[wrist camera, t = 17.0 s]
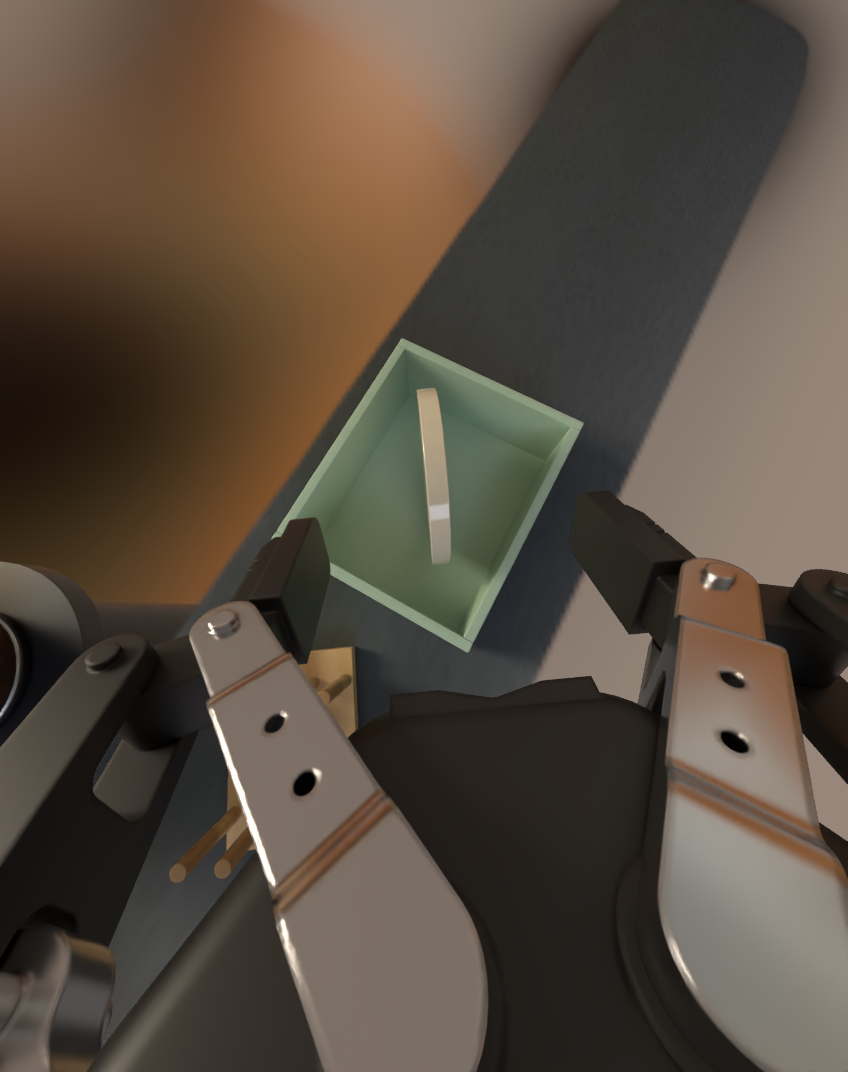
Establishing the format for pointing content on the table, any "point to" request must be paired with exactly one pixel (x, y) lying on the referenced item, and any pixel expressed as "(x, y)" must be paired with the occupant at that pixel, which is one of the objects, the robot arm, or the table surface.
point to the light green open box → (398, 495)
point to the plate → (434, 475)
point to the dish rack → (339, 693)
